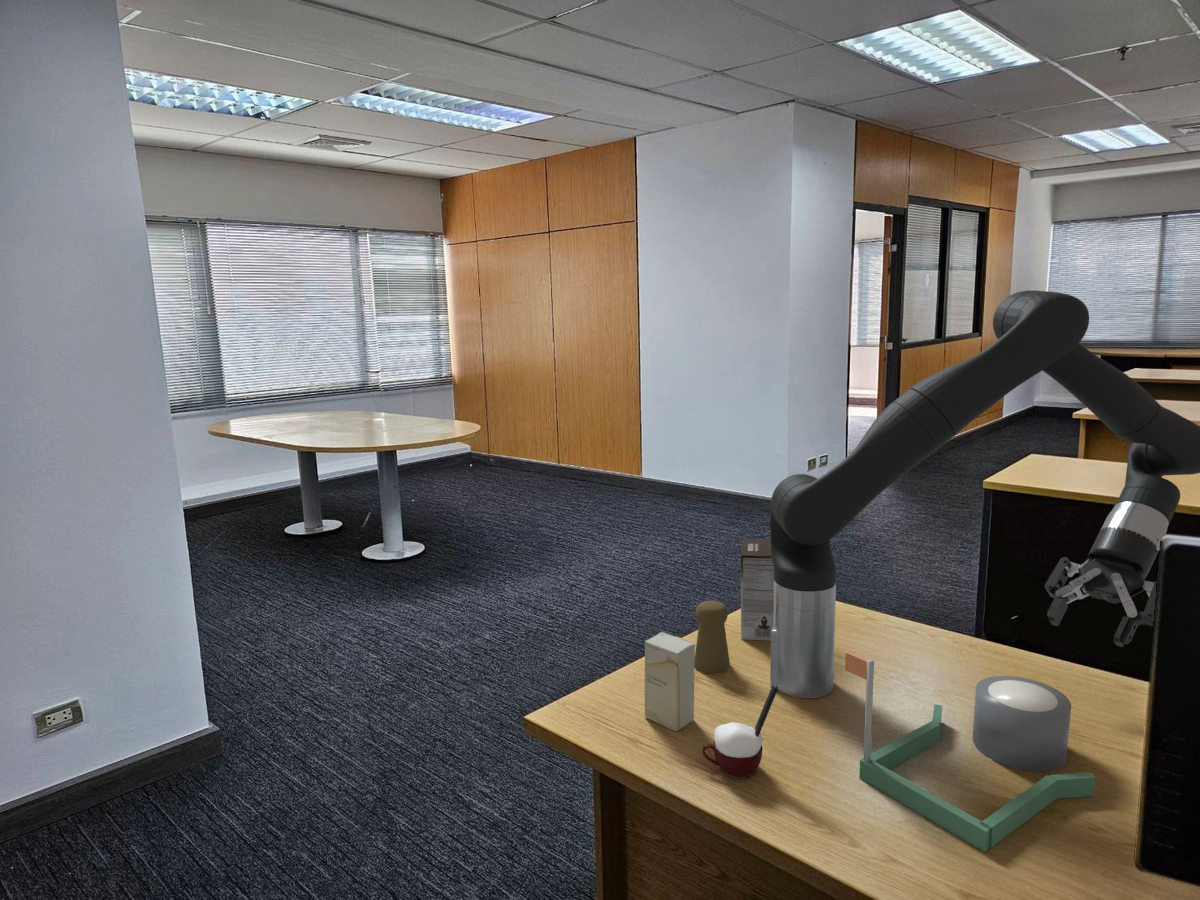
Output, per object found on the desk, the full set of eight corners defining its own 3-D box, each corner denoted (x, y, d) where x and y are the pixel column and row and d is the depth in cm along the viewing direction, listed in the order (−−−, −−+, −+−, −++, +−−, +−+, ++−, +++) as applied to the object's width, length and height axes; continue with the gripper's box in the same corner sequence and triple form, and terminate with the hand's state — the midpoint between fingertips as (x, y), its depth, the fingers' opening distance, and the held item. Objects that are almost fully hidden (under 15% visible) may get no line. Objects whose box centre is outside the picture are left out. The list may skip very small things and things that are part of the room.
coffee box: (741, 619, 145) (741, 538, 142) (776, 620, 144) (776, 539, 141) (740, 640, 136) (740, 554, 133) (777, 642, 135) (778, 555, 132)
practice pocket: (931, 717, 110) (936, 612, 107) (1095, 794, 92) (1107, 671, 89) (840, 766, 99) (843, 651, 96) (1005, 864, 81) (1016, 727, 78)
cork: (708, 653, 132) (708, 593, 129) (737, 664, 127) (737, 602, 125) (686, 666, 127) (685, 604, 125) (715, 677, 123) (715, 613, 121)
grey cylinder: (976, 763, 99) (979, 709, 97) (969, 719, 109) (972, 670, 107) (1074, 779, 95) (1079, 723, 93) (1058, 733, 105) (1062, 681, 103)
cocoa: (699, 776, 99) (693, 691, 96) (716, 749, 104) (710, 668, 102) (771, 793, 94) (767, 705, 92) (785, 764, 100) (781, 680, 97)
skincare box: (643, 717, 112) (641, 640, 110) (662, 705, 115) (661, 630, 113) (678, 733, 108) (676, 653, 106) (696, 720, 111) (695, 642, 109)
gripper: (1070, 515, 116) (1025, 604, 112) (1180, 537, 105) (1134, 638, 101) (1084, 542, 120) (1040, 629, 116) (1191, 566, 109) (1147, 663, 105)
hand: (1084, 633), depth 109 cm, fingers open, 8 cm apart
